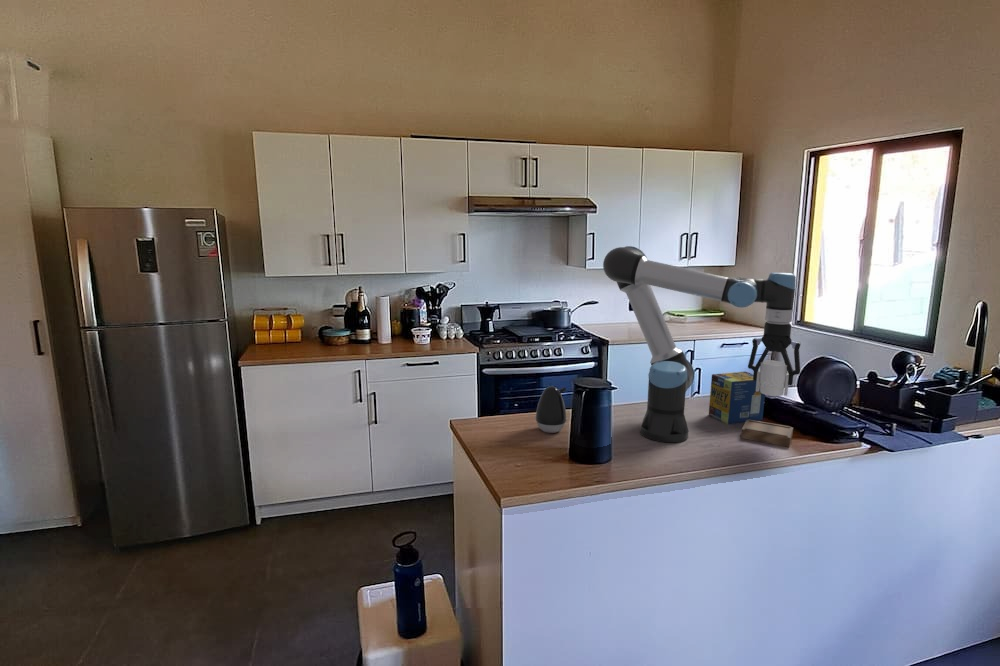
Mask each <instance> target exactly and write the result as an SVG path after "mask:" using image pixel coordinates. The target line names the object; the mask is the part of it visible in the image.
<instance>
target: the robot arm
mask: <svg viewBox="0 0 1000 666" xmlns="http://www.w3.org/2000/svg"><path fill="white" fill-rule="evenodd" d="M602 263H603V264H602V267H603V271H604V274H605V275H606V276H607V278H609V279H610V280H611V281H613V282H616V284H617V287H618V289H619V291H621V292H623V293H625V294H626V296H627V299H628V301H629V303H630V305H631V309H632V310H633V313H634V315H635V318H636V320H637V322H638V326H639V328H640V329H641V332H642V334H643V337H644V339H645V342H646V344H647V346H648V349H649V351H650V354H651V356H652V357H651V359H650V362H649V363H650V367H649V371H648V374H647V375H648V385H647V387H648V388H647V406H646V407H647V408H646V412H645V414H644V417H643V419H642V421H641V424H640V431H639V432H640V434H641V435H642V436H643V437H644V438H647V439H649V440H652V441H656V442H662V443H663V442H664V443H679V442H684V441H687V439H688V438H689V428H688V427H689V426H688V424H687V420H686V416H685V407H686V406H685V404H686V394H687V391H688V390H689V389H690V387H691V386H692V384H693V382H694V379H695V369H694V366H693V365H692V364H691V362H690V361H689V360H688V359H687V358H686V355H685V353H684V351H683V349H681V348H678V347H677V346H676V343H675V341H674V339H673V336H672V334H671V331H670V329H669V327H668V324H667V323H666V322H667V321H666V320H665V317H664V314H663V313H662V310H661V307H660V305H659V303H658V300H657V298H656V296H655V293H654V291H653V289H652V287H653V286H654V287H657V288H662V289H665V290H670V291H674V292H680V293H684V294H687V295H692V296H696V297H701V298H704V299H710V300H713V301H719V302H723V303H726V304H730V305H732V306H734V307H736V308H740V309H741V308H742V309H743V308H748V307H749V306H752V305H753V304H754V303H766V306H765V317H764V320H765V321H766V322H764V328H763V335H762V337H759V338H758V337H754V338H753V339H752V348H751V352H750V353H751V354H750V356H749V360H748V365H747V368H748V369H750V370H752V372H753V373H752V374H753V380H754V381H757V382H756V392H758V391H759V388H760V365H761V362H763V361H764V360H765V359H766V357H767V355H768V353H769V352H777V353H780V354H781V356H782V358H783V362H785V365H787V375H786V380H785V387H784V393H783V396H786V397H787V395H788V392H789V386H792V385H793V383H794V376H795V375H796V376H797V375H800V373H801V359H800V347H801V344H802V343H801V342H800V341H794V340H792V339H791V332H792V321H793V314H794V313H793V312H794V304H795V303H794V301H795V295H796V292H795V291H796V275H795V274H794V273H791V272H770V273H769V275H768V278H752V277H750V278H749V277H727V276H723V275H718V274H713V273H709V272H705V271H701V270H700V271H699V270H695V269H690V268H685V267H681V266H676V265H672V264H668V263H663V262H659V261H658V262H657V261H653V260H649V259H648V257H647V255H646V253H645V252H644V251H643V250H642V249H640V248H638V247H635V246H631V245H630V246H628V245H626V246H623V247H622V246H620V247H616V248H612V249H611V250H609V251H608V252H607V254H606V256H604V259H603V262H602ZM761 343H762V344H763V345H764V347H765V348H764V350H763V352H762V354H761V356H760V358H759V359H758V361H757V363H756V364H755V360H756V356H757V350H758V347H759V346H760V345H761ZM790 345H791V347H792V349H793V356H794V369H793V366H792V363H791V360H790V358H789V354H788V351H787V349H788V347H790ZM754 364H755V365H754Z"/></svg>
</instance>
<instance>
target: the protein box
mask: <svg viewBox="0 0 1000 666" xmlns="http://www.w3.org/2000/svg"><path fill="white" fill-rule="evenodd" d="M753 374H754V373H751V372H748V371H737V372H725V373H713V374H711V378H710V379H711V381H710V392H709V407H708V416H709V417H712V418H714V419H717V420H719V421H721V422H722V423H725V424H726V425H729V424H732V425H734V424H741V423H745V422H746V420H755V421H763V418H764V407H765V398H766V397H765V396H766V395H765V394H762V393H761V392H760V388H759V391H758V392H756V382H757V381H754V380H753Z"/></svg>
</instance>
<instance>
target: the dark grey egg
mask: <svg viewBox="0 0 1000 666" xmlns="http://www.w3.org/2000/svg"><path fill="white" fill-rule="evenodd" d="M566 390H567V388H566V387H562V388H560V389H558V388H557V387H555V386H553V385H550V386H547V387H545V388H544V390H543V391H542V393H541V396H540V398H539V400H538V403H537V407H536V411H535V421H536V424H537V427H538V428H539V429H540V430H541V431H542V432H544V433H548V434H554V433H558V432H560V431H562V430H563V428H564V427H565V426H566V425H565V424H566V422H567V410H566V406H565V405H566V404H565V401H564V399H563V396H562V393H564V392H566Z"/></svg>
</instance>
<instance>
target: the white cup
mask: <svg viewBox="0 0 1000 666" xmlns="http://www.w3.org/2000/svg"><path fill="white" fill-rule="evenodd" d="M759 370H760V392H761V393H762V394H765V396H771V397H781V396H784V390H785V380H786V375H787V374H788V371H787V365H785V362H784V361H781V360H772V359H771V360H770V359H768V360H767V359H766V360H765V359H764V361H763V362H761V365H760V367H759Z"/></svg>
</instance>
